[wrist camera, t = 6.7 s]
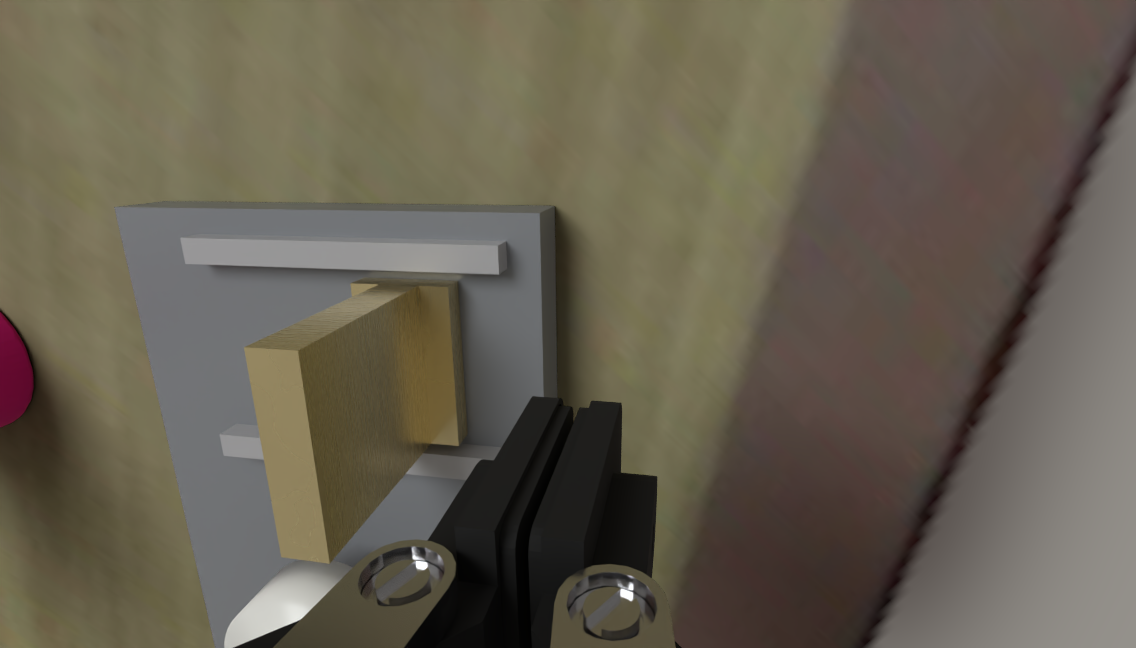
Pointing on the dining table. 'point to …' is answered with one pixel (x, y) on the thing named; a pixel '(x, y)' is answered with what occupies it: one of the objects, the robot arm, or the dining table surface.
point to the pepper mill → (13, 374)
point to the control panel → (295, 292)
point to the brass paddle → (355, 405)
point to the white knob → (284, 599)
